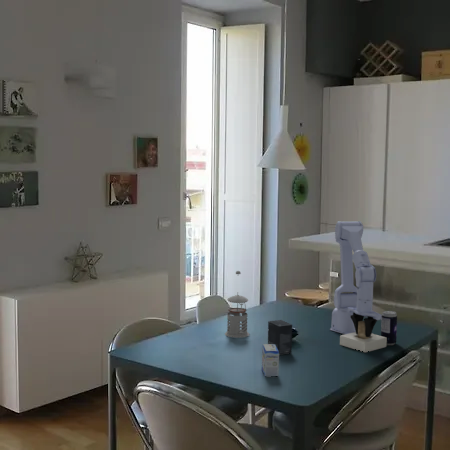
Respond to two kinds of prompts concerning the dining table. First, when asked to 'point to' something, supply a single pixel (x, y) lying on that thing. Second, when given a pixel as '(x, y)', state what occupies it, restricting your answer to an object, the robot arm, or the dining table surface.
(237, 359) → the dining table surface
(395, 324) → the beverage can
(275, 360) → the medicine box
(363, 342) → the socket block
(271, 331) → the box
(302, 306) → the dining table surface
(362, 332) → the beech peg
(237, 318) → the french press
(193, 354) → the dining table surface
